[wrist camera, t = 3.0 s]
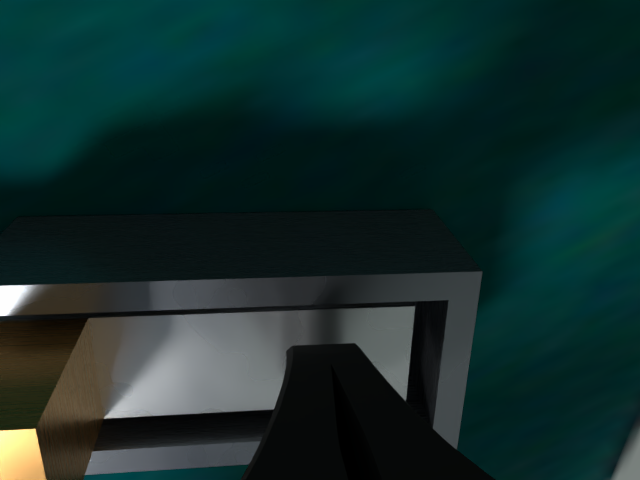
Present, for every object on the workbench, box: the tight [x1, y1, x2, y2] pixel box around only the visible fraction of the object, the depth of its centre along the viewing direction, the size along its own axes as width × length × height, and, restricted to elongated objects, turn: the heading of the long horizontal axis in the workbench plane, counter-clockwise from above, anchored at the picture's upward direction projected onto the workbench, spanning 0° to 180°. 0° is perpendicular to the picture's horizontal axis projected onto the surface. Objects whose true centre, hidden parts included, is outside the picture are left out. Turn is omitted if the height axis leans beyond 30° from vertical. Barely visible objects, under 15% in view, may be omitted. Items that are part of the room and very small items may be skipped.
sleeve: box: [0, 209, 483, 475], centre depth 13 cm, size 4×10×3 cm, turn 89°
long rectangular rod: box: [0, 301, 415, 480], centre depth 11 cm, size 2×12×5 cm, turn 88°
